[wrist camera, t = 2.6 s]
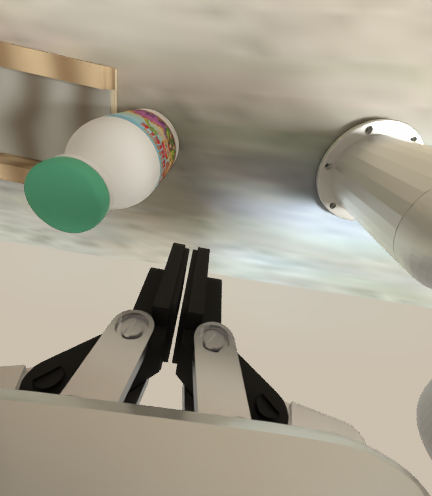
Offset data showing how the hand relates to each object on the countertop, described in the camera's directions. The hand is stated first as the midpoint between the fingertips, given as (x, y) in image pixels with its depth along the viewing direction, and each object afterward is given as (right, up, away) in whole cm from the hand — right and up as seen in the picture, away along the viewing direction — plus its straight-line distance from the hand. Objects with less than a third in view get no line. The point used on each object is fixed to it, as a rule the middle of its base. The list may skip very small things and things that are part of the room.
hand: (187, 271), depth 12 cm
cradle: (-21, +17, +19) cm, 33 cm away
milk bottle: (-7, +15, +20) cm, 26 cm away
